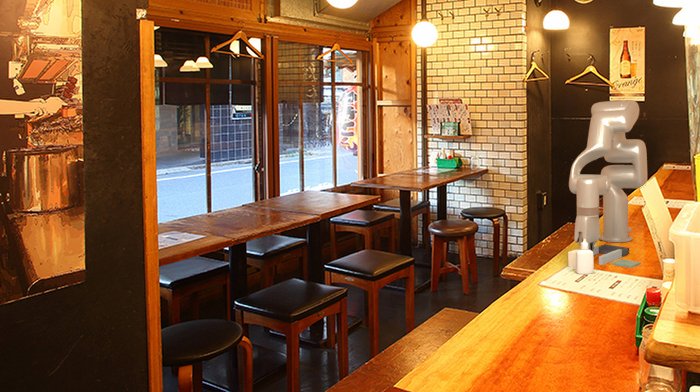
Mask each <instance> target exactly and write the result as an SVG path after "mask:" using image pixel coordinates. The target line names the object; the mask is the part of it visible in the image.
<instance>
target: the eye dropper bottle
mask: <svg viewBox="0 0 700 392" xmlns="http://www.w3.org/2000/svg"><path fill="white" fill-rule="evenodd" d="M579 249H580V250H578V251H577V252H576V268H575V273H577V274H578V275H592V274H593V273H594V268H595V267H594V265H595V264H594V256H593V251H591V250H589V249H588V243H587V242H586V239H583V242H582V243H581V247H580V248H579Z"/></svg>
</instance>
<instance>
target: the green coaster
mask: <svg viewBox="0 0 700 392" xmlns="http://www.w3.org/2000/svg"><path fill="white" fill-rule="evenodd" d="M641 263H642V262H641V261H634V260H630V259H629V260H628V259H622V258H620V259H617V260H615V261H612V263H611V265H612V266H616V267H617V266H618V267H624V268H630V269H632V268H634V267H637V266H640V265H641Z"/></svg>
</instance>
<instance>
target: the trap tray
mask: <svg viewBox="0 0 700 392" xmlns="http://www.w3.org/2000/svg"><path fill="white" fill-rule="evenodd" d="M598 246H599V254H601V253H602V255H604V254H607V253H610V252H612V251H615V250H618V249H621V250H622V258H623V257H626V256H629V255H630V247H625V246H618V245H611V244H605V243H604V244H602V245H598ZM628 254H629V255H628Z"/></svg>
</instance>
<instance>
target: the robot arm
mask: <svg viewBox="0 0 700 392" xmlns="http://www.w3.org/2000/svg"><path fill="white" fill-rule="evenodd" d="M590 113H591V117H590V122H589V129H588V136H587V144H586V148H585V149H584V150H583V151H582V152H581V153H579V155H578V156H577V157H576V158H575V160H574V161H573V162H572V165H571V168H570V172H569V173H570V174H569V180H568V187H569V191H570V192H571V193H572V194H574V195H576V218H575V223H574V242H575V243H578V247H579V248H581V243H582V242H583V239H586V242H587V243H588V249H589V250H591V251H593V250H594V246H596V244H597V243H598V240H600V241H602V242H607V243H608V242H609V243H628V242H631V241H632V239H633V237H632V236H631V235H629V233H630V232H632V228H631V227H629V198H628V195H627V194H626V193H625V192H624V190H623V189H641V188H640V187H641V186H643V185H644V184H645V183H646V182H648V160H647V159H648V157H647V155H648V154H647V147H646V143H645V142H644V140H642V139H638V138H637V139H635V138H633V139H627V138H626V133H629V132H631V130H632V129H633V126H634V125H635V124H636V122H637V120H638V119H639V116H640V106H639V104H638V101H635V100H632V99H631V100H613V101H611V100H610V101H607V100H606V101H599V102H596V103H593V105H592V106H591V108H590ZM599 158H604V161H606V162H607V163H614V164H611V165H609V164H608V165H606V166H604V167H603V168H602V169H601V170H600V171H601V172H600V174H589V173H588V174H585V173H584V174H581V171H582V169H583V168H584V167H585V166H586V165H587V164H589V163H591V162H593V161H595V160H598V159H599ZM621 163H622V164H621ZM625 164H626V165H625ZM600 196H602V203H603V204H602V206H603V207H602V208H603V209H602V212H603V213H602V214H603V215H602V216H603V217H602V218H603V223H602V224H603V226H602V227H603V230H602V232H603V233H602V234H601V226H600V225H601V223H600V217H599V216H600Z"/></svg>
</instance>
